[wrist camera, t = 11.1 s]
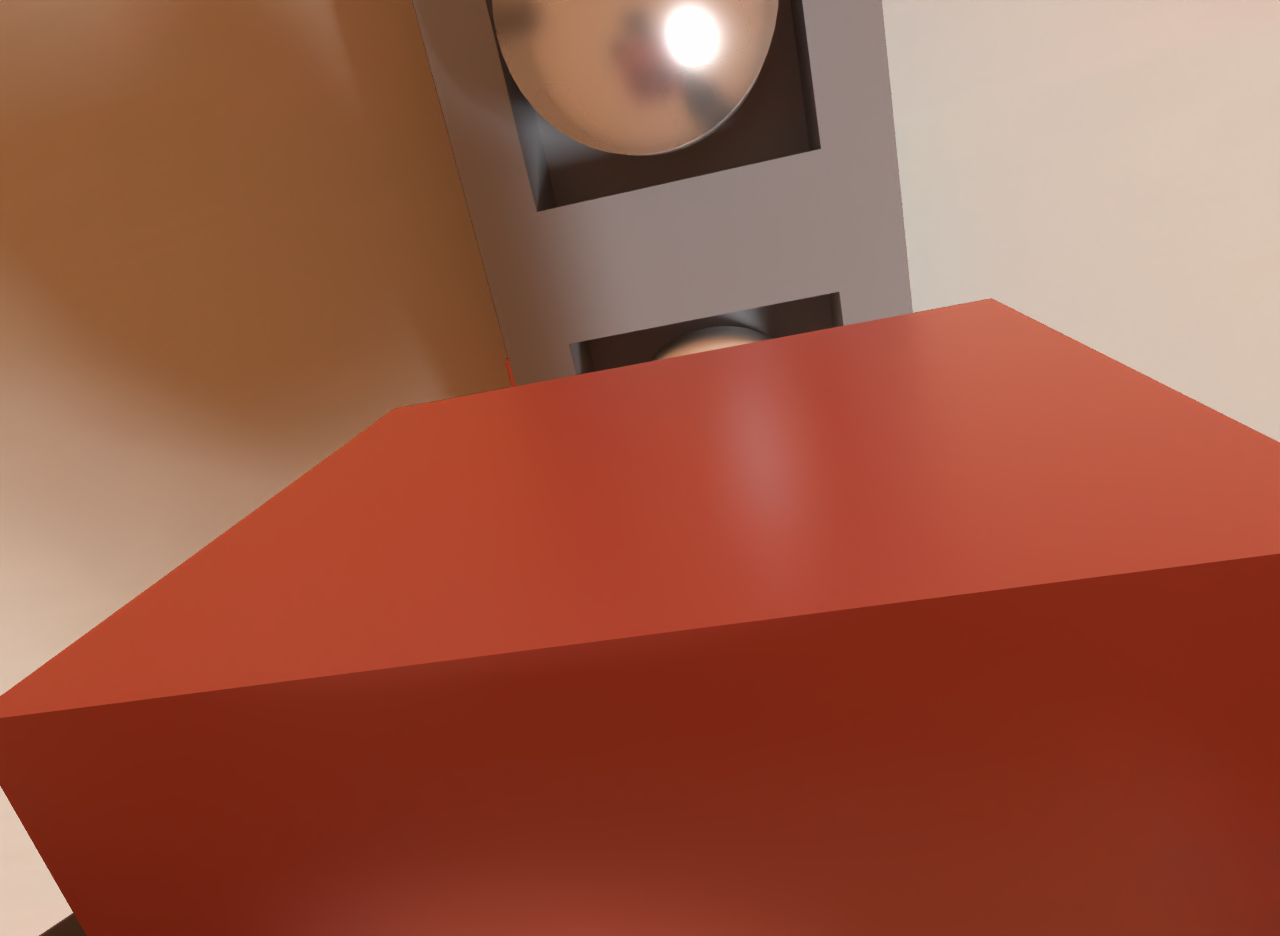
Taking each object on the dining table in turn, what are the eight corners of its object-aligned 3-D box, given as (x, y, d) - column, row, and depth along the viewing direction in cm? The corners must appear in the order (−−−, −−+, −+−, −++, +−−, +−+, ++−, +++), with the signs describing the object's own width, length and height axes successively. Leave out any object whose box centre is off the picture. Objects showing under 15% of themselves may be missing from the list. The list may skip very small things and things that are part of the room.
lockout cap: (1025, 808, 11) (1332, 1470, 5) (535, 850, 12) (372, 1432, 7) (991, 298, 9) (1456, 529, 3) (394, 408, 10) (-37, 722, 4)
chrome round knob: (788, 125, 15) (799, 120, 13) (557, 179, 16) (531, 181, 13) (748, -157, 13) (754, -216, 11) (496, -85, 14) (457, -127, 12)
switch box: (910, 530, 20) (939, 588, 17) (590, 576, 22) (570, 637, 19) (825, -243, 15) (848, -335, 12) (411, -119, 16) (347, -177, 14)
